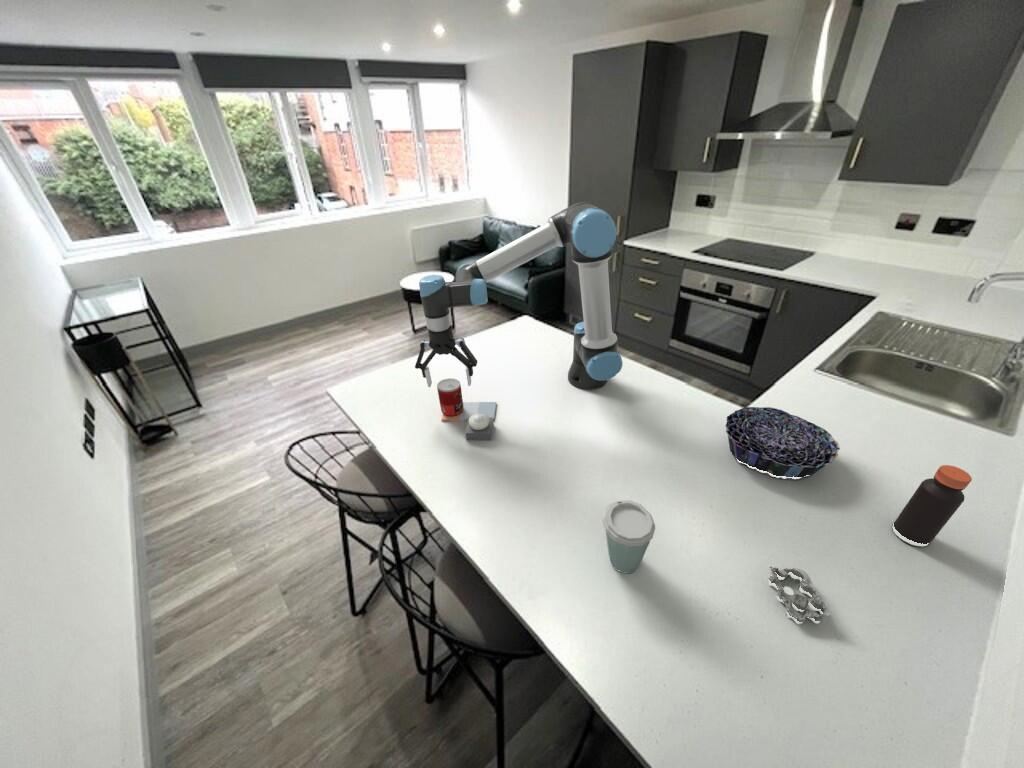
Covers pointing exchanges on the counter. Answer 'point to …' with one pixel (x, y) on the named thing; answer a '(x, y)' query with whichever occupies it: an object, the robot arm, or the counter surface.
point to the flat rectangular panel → (473, 411)
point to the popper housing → (480, 432)
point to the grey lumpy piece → (800, 600)
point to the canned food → (450, 397)
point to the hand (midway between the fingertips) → (449, 384)
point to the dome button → (479, 421)
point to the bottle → (933, 504)
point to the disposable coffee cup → (627, 534)
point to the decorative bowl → (779, 442)
